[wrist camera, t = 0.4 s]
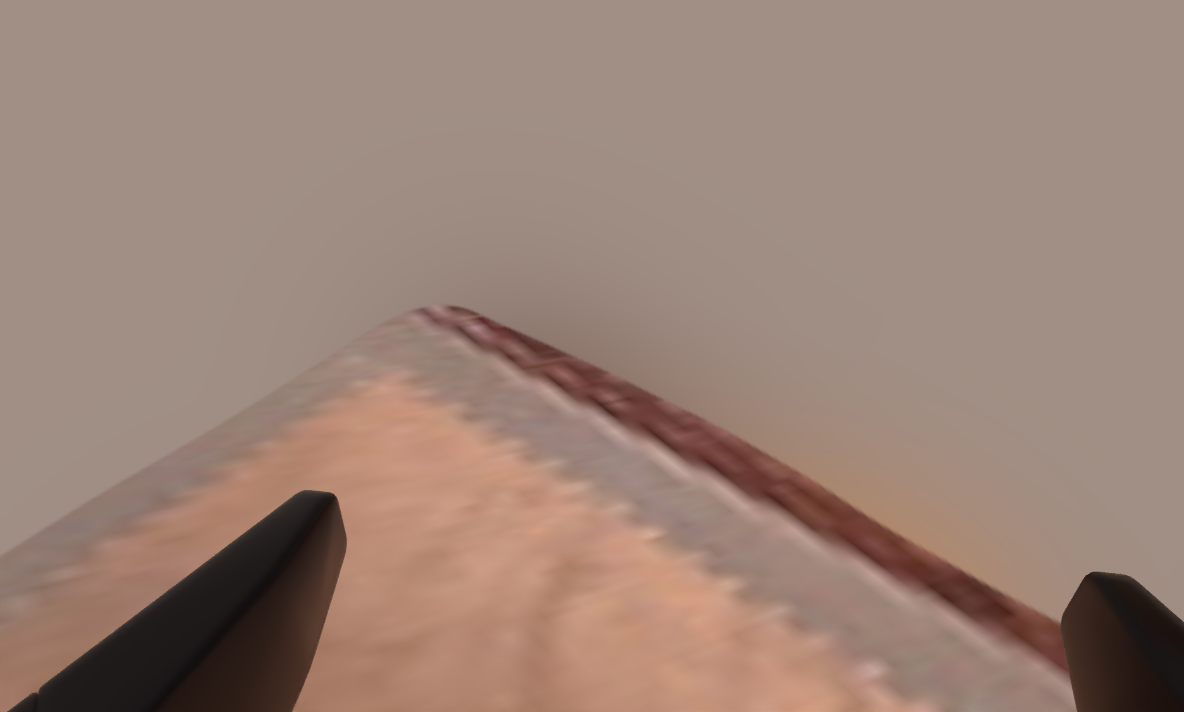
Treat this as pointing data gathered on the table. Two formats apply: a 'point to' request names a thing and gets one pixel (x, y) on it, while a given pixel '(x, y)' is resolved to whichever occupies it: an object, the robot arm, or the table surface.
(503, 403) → the table surface
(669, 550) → the table surface
